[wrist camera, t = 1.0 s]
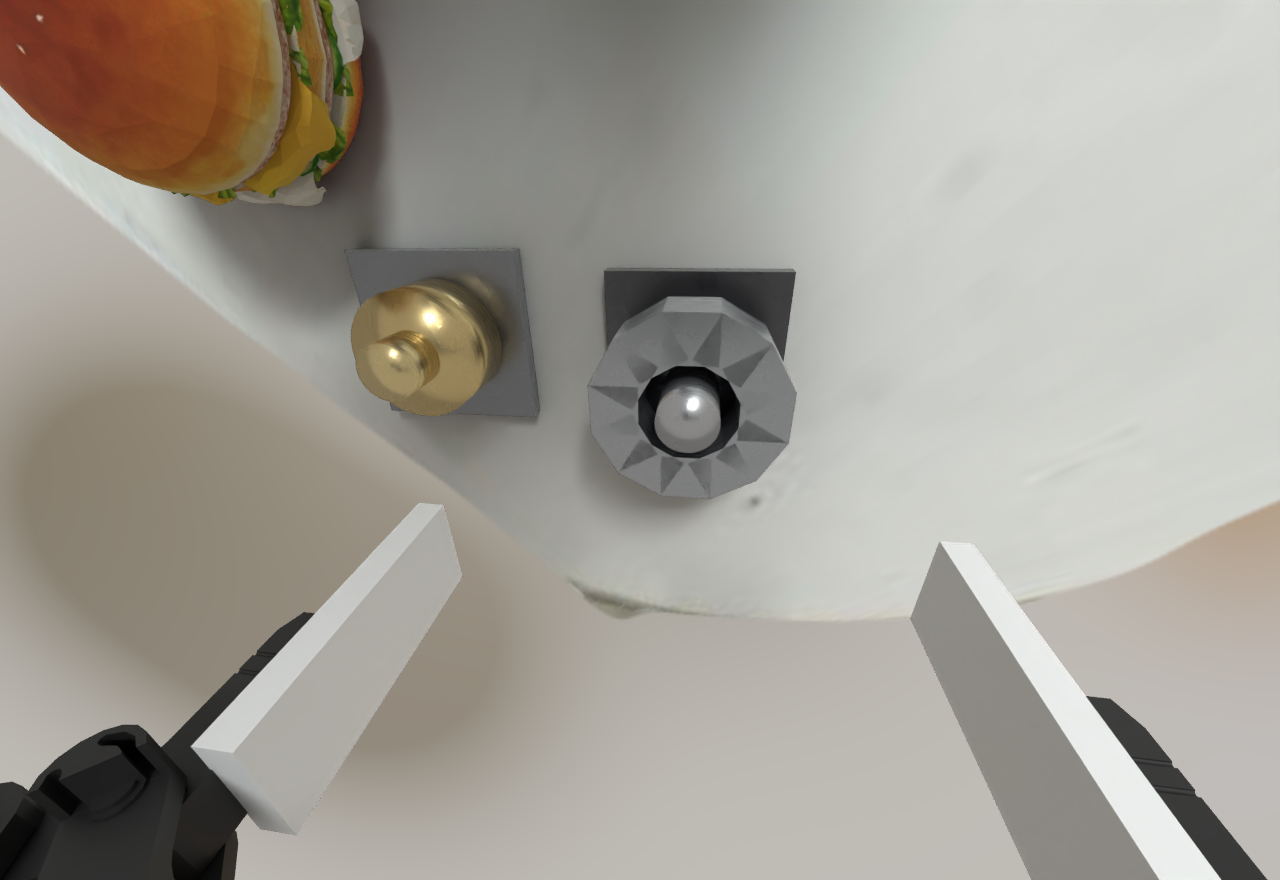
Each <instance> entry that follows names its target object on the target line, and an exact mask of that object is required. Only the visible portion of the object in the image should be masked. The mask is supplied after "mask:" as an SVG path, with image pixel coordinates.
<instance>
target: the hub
mask: <svg viewBox="0 0 1280 880" xmlns="http://www.w3.org/2000/svg"><path fill="white" fill-rule="evenodd" d="M344 251H345V254H346V257H347V261H348V264H349V267H350V271H351V274H352V278H353V281H354V284H355V288H356V291H357V294H358V298H359V301H360V305H361V307H360V308H359V309H358V311H357V313H356V315H355V317H354V320H353V323H352V329H351V342H352V349H353V352H354V356H355V359H356V370H357V373H358V376H359V378H360V380H361V381H362V383H363V384H364V386H365V387H366V388H367V389H368V390H369V391H370V392H371V393H373V394H374V395H375V396H377V397H379V398H381V399H384V400H387V401H389V402H390V406H391V409H392V410H395V411H408V412H411V413H414V414H418V415H424V416H438V415H444V414H447V413H458V414H478V415H499V416H520V417H536V415H537V414H538V413H539V412H540V406H539V398H538V390H537V383H536V375H535V367H534V359H533V352H532V344H531V336H530V328H529V320H528V313H527V305H526V297H525V289H524V281H523V274H522V266H521V258H520V250H519V249H401V248H356V249H350V250H344Z"/></svg>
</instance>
